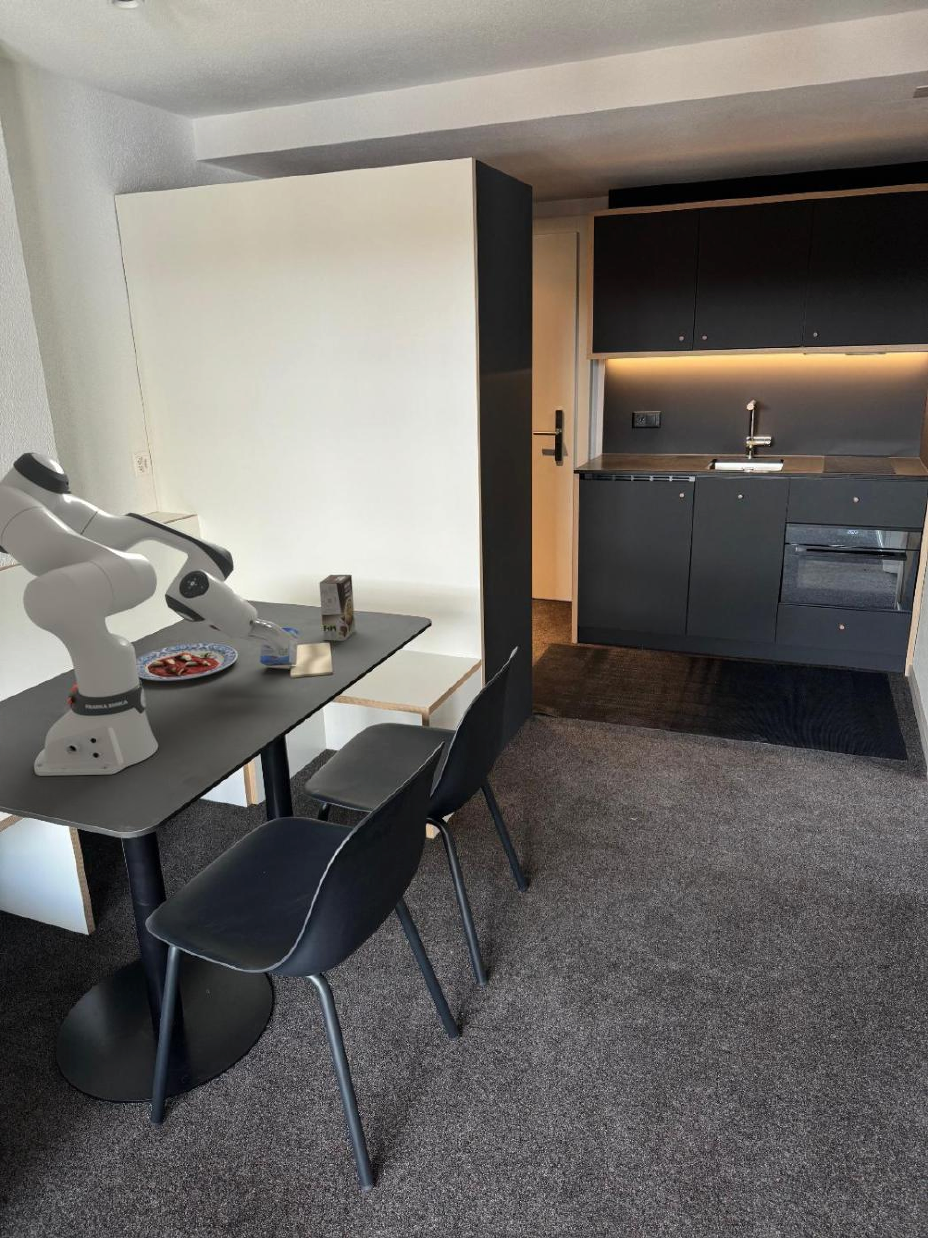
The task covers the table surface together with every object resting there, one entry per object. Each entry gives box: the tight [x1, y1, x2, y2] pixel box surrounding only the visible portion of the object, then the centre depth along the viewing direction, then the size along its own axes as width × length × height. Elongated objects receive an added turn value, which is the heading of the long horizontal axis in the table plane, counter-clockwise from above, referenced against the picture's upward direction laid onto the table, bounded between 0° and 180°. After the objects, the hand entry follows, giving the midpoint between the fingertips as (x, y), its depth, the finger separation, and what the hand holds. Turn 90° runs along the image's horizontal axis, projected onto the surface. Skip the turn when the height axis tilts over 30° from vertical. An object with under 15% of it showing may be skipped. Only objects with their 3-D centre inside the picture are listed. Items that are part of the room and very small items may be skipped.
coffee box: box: [319, 574, 356, 642], centre depth 236 cm, size 9×6×16 cm
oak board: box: [290, 642, 334, 679], centre depth 221 cm, size 10×22×1 cm, turn 10°
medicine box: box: [259, 627, 299, 667], centre depth 215 cm, size 8×4×9 cm
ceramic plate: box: [136, 642, 239, 682], centre depth 218 cm, size 26×26×3 cm
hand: (272, 646), depth 212 cm, fingers closed
